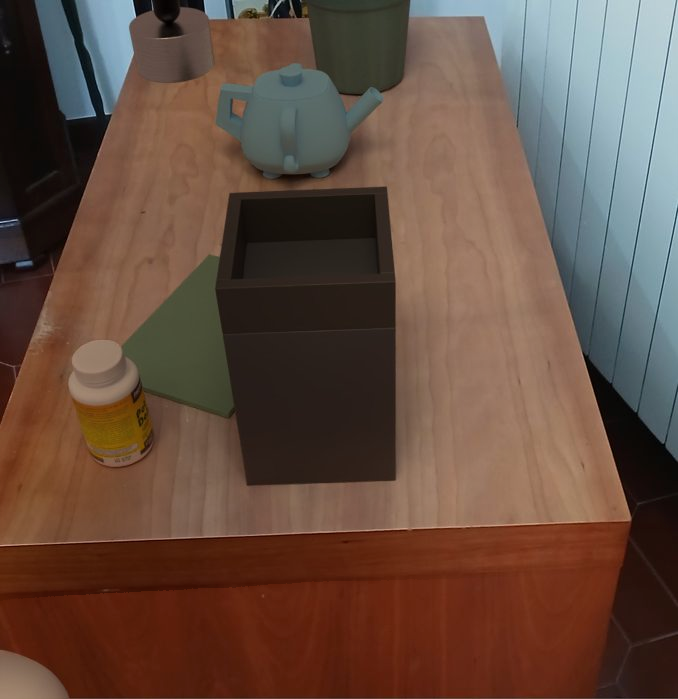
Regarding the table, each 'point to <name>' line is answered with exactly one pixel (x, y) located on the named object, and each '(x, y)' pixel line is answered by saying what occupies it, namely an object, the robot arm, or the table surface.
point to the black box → (311, 333)
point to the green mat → (186, 346)
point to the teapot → (293, 120)
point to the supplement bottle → (110, 404)
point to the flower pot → (360, 42)
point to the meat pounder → (172, 43)
